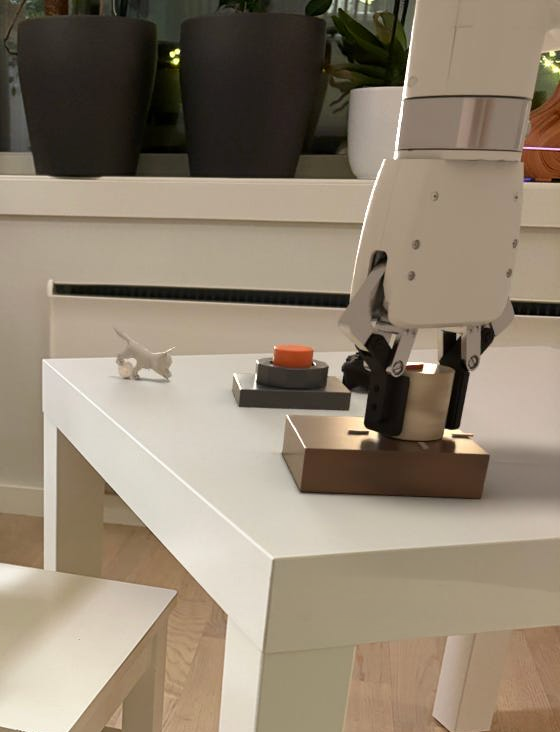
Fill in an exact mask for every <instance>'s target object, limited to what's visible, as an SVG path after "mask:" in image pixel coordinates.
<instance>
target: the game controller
mask: <svg viewBox="0 0 560 732" xmlns="http://www.w3.org/2000/svg"><path fill="white" fill-rule="evenodd" d="M340 368H341V372H342V381H341V382H342V383H343V384H344V385H345V387H346V388H347V389H348V390H349V391H351V390H354V389H356V388H360V387H361V388H368V389H369V384H370V377H371V371H369V370H367V369H365V367H364V359H363V358H362V356H361V355H360V353H359V352H358V351H356V352H355V354H350V355H348V356H347V357H346V358H345V362H343V363H342V365H341V367H340Z"/></svg>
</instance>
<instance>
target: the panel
mask: <svg viewBox="0 0 560 732" xmlns="http://www.w3.org/2000/svg"><path fill="white" fill-rule="evenodd" d="M364 418H365V416H335V415H310V414H309V415H306V414H286V415H285V424H284V433H283V443H282V450H281V451H282V452H281V454H282V456H283V458H284V460H285V462H286V465H287V466H288V468H289V471H290V473H291V476H292V477H293V479H294V481H295V483H296V486H297V488H298V490H299V492H301V493H323V494H324V493H326V494H349V495H351V494H353V495H355V494H356V495H380V496H404V497H405V496H406V497H430V498H431V497H432V498H433V497H434V498H454V499H455V498H457V499H458V498H460V499H482V497H483V492H484V487H485V484H486V483H485V482H486V477H487V473H488V472H487V471H488V467H489V463H490V457H491V454H490V453H489V452H487V451H486V450H485V449H484V448H483V447H481V446H480V445H479V444H478V443H476V442H475V441H474V440H473V439H472V438H473V437H475V436H474V435H475V434H473V433H472V432H469V433H468V432H463V431H462V430H461V429H459V428H458V429H457V430H447V429H445V430H444V435H443V437H442V438H440V439H437V440H431V441H412V440H403V439H397V438H392V437H388V436H385V435H383V434H381V433H378V432H375V431H372V430H369V429H366V428H365V426H364Z"/></svg>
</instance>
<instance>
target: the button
mask: <svg viewBox="0 0 560 732" xmlns="http://www.w3.org/2000/svg"><path fill="white" fill-rule="evenodd" d="M314 349H315V348H313V347H312V346H308V345H300V344H278V345H275V346H274V348H273V356H272V357H273V364H275V365H279V366H288V367H309V366H312V360H314V351H315V350H314Z"/></svg>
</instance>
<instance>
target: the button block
mask: <svg viewBox="0 0 560 732" xmlns="http://www.w3.org/2000/svg"><path fill="white" fill-rule="evenodd" d="M329 368H330V365H329V364H328V363H327V362H325V361H322V360H317V359H313V360H312V366H309V367H288V366H279V365H275V364H273V356H272V357H270V356H269V357H263V358H260V359H257V360H256V362H255V373H243V372H241V373H240V372H235V373H233V374H232V375H233V376H232V387H231V390H232V393H233V395H234V399H235V402H236V403H237V406H238V408H253V409H257V408H258V409H284V410H285V409H287V410H311V411H312V410H313V411H314V410H317V411H343V412H344V411H346V412H348V411H350V407H351V401H352V392H351V390H348V389H347V388H346V387H345V385H344V384H343V383H342V381H341V380H340V379H339V377H338V376H336V375H329Z"/></svg>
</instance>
